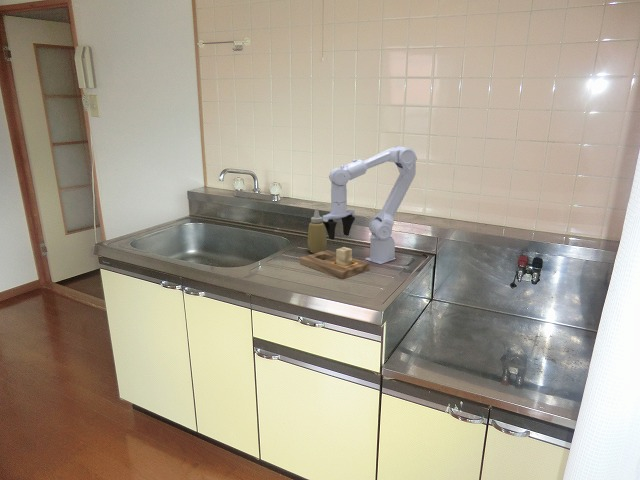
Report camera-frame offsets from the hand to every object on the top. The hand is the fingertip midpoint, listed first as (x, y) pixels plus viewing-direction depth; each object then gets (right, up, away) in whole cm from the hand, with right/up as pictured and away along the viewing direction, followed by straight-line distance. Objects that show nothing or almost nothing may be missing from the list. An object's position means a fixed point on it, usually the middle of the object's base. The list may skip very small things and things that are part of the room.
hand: (339, 237), depth 177 cm
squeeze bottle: (-8, -6, +18) cm, 20 cm away
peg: (+2, -12, -4) cm, 13 cm away
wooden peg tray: (-2, -11, -1) cm, 11 cm away
